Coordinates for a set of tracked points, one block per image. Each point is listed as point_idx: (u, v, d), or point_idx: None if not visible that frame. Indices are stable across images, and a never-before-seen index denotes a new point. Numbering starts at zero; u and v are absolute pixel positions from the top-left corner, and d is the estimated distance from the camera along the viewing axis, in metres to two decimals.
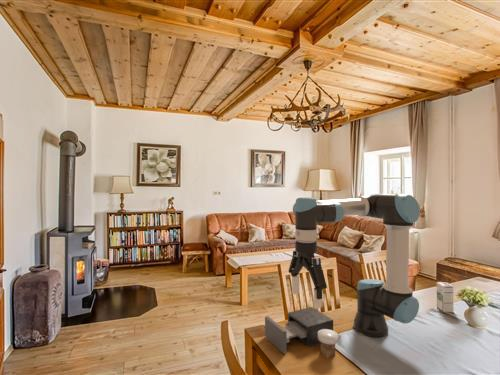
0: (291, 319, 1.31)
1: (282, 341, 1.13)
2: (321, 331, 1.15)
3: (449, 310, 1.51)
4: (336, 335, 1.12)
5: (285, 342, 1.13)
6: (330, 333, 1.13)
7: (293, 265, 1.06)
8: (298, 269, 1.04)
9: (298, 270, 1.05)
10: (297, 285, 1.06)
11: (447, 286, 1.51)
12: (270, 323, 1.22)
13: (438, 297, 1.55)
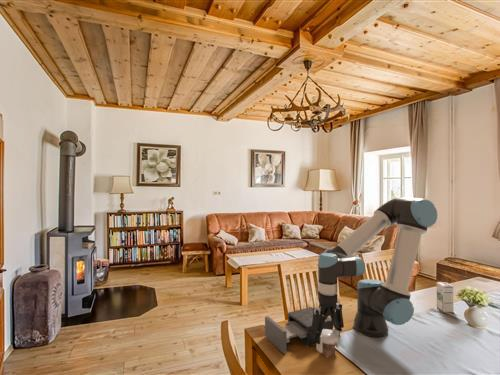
0: (291, 319, 1.31)
1: (282, 341, 1.13)
2: None
3: (449, 310, 1.51)
4: (336, 335, 1.12)
5: (285, 342, 1.13)
6: (330, 333, 1.13)
7: (337, 317, 1.16)
8: (333, 320, 1.15)
9: (334, 322, 1.15)
10: None
11: (447, 286, 1.51)
12: (270, 323, 1.22)
13: (438, 297, 1.55)
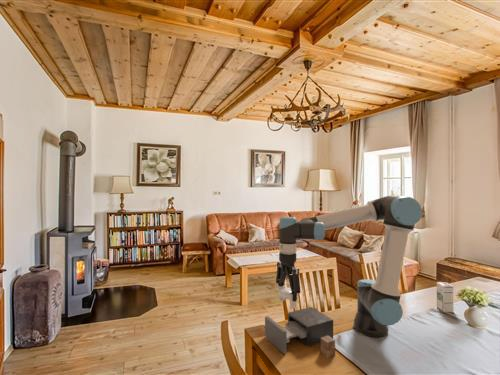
0: (291, 319, 1.31)
1: (282, 341, 1.13)
2: (283, 292, 1.20)
3: (449, 310, 1.51)
4: (289, 288, 1.25)
5: (285, 342, 1.13)
6: (286, 289, 1.23)
7: (279, 275, 1.27)
8: (283, 278, 1.25)
9: (283, 279, 1.25)
10: None
11: (447, 286, 1.51)
12: (270, 323, 1.22)
13: (438, 297, 1.55)
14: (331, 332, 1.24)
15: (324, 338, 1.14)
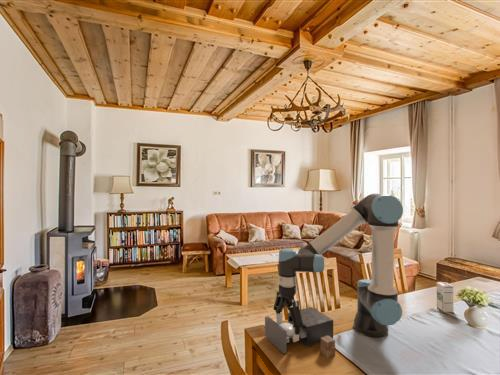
0: (291, 319, 1.31)
1: (282, 341, 1.13)
2: None
3: (449, 310, 1.51)
4: (288, 323, 1.26)
5: (285, 342, 1.13)
6: (286, 325, 1.24)
7: (277, 303, 1.28)
8: (281, 307, 1.26)
9: (281, 308, 1.27)
10: (280, 320, 1.28)
11: (447, 286, 1.51)
12: (270, 323, 1.22)
13: (438, 297, 1.55)
14: (331, 332, 1.24)
15: (324, 338, 1.14)
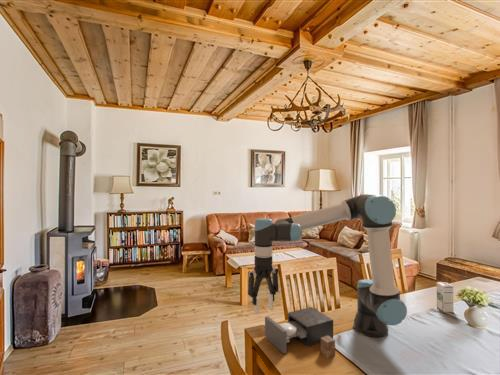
0: (291, 319, 1.31)
1: (282, 341, 1.13)
2: None
3: (449, 310, 1.51)
4: (288, 323, 1.26)
5: (285, 342, 1.13)
6: (286, 325, 1.24)
7: (273, 281, 1.20)
8: (268, 284, 1.18)
9: (269, 286, 1.18)
10: (270, 302, 1.18)
11: (447, 286, 1.51)
12: (270, 323, 1.22)
13: (438, 297, 1.55)
14: (331, 332, 1.24)
15: (324, 338, 1.14)
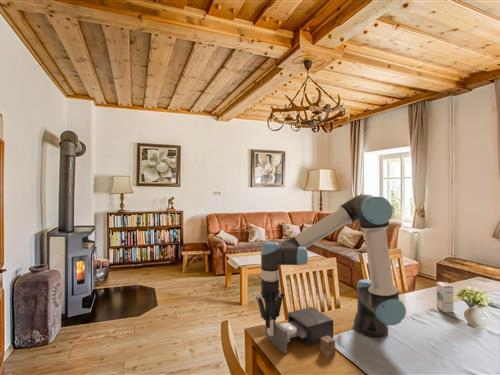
0: (291, 319, 1.31)
1: (283, 341, 1.13)
2: None
3: (449, 310, 1.51)
4: (289, 323, 1.26)
5: (286, 342, 1.13)
6: (286, 325, 1.24)
7: None
8: (271, 308, 1.19)
9: (271, 310, 1.18)
10: None
11: (447, 286, 1.51)
12: None
13: (438, 297, 1.55)
14: (331, 332, 1.24)
15: (324, 338, 1.14)
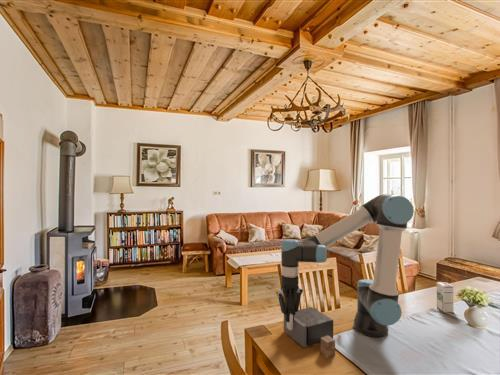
0: None
1: (302, 335, 1.17)
2: None
3: (449, 310, 1.51)
4: None
5: (305, 336, 1.17)
6: None
7: None
8: (290, 303, 1.23)
9: (291, 305, 1.23)
10: None
11: (447, 286, 1.51)
12: None
13: (438, 297, 1.55)
14: (331, 332, 1.24)
15: (324, 338, 1.14)
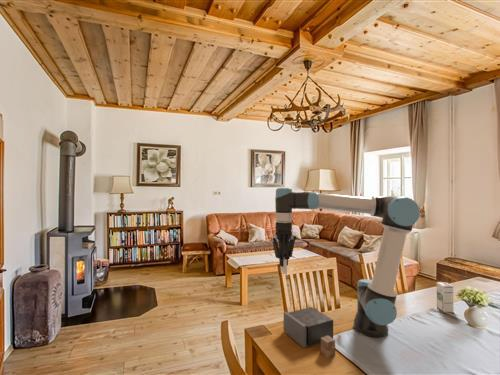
0: None
1: (302, 335, 1.17)
2: None
3: (449, 310, 1.51)
4: None
5: (305, 336, 1.17)
6: None
7: None
8: (284, 249, 1.28)
9: (285, 250, 1.28)
10: None
11: (447, 286, 1.51)
12: (289, 318, 1.26)
13: (438, 297, 1.55)
14: (331, 332, 1.24)
15: (324, 338, 1.14)
